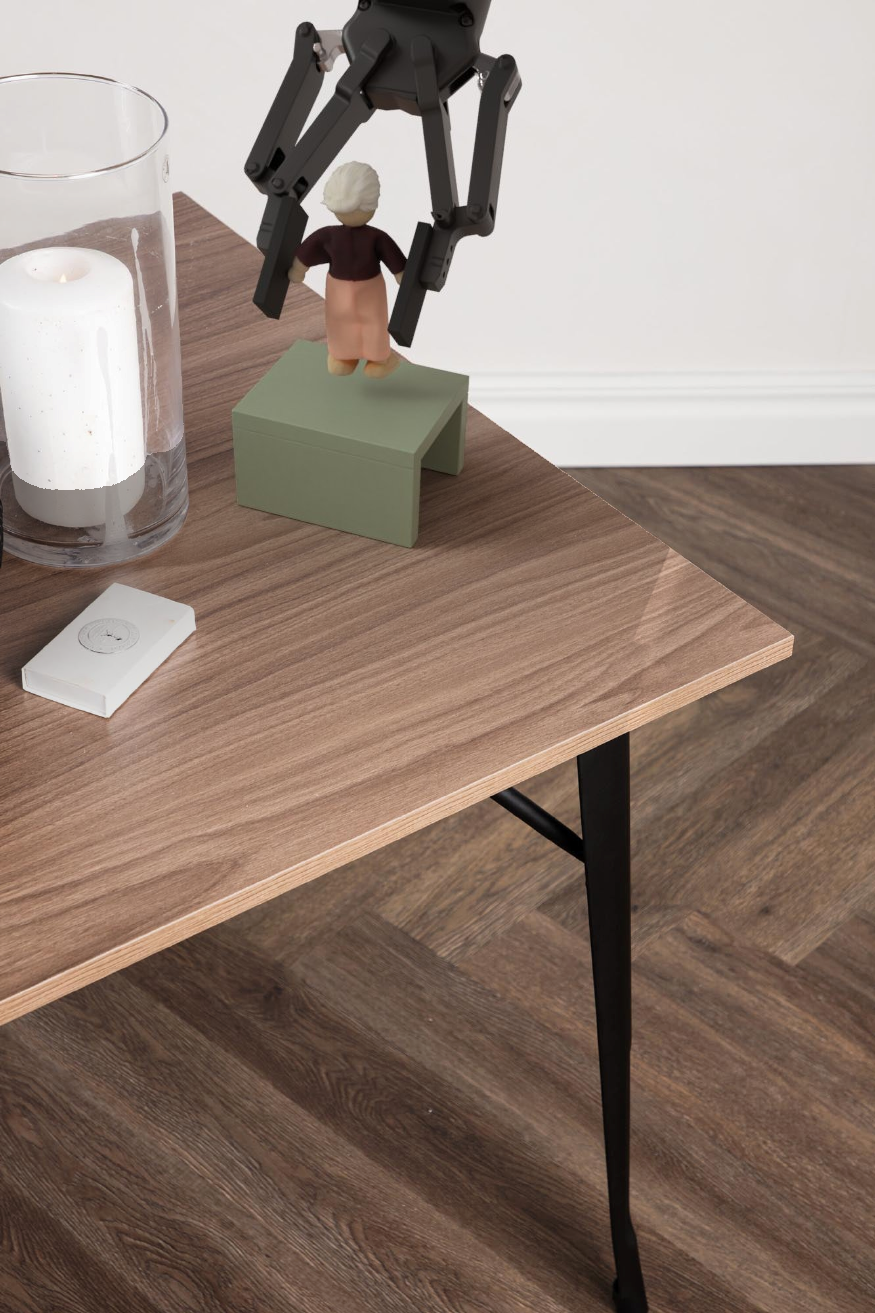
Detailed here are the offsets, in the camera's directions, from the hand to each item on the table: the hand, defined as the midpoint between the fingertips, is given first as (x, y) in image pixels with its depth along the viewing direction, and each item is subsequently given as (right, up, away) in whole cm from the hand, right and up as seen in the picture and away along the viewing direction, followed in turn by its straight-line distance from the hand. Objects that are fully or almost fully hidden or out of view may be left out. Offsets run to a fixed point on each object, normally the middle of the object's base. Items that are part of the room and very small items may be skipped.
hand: (331, 324), depth 82 cm
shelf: (+1, -8, +11) cm, 14 cm away
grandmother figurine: (+1, -1, +6) cm, 6 cm away
